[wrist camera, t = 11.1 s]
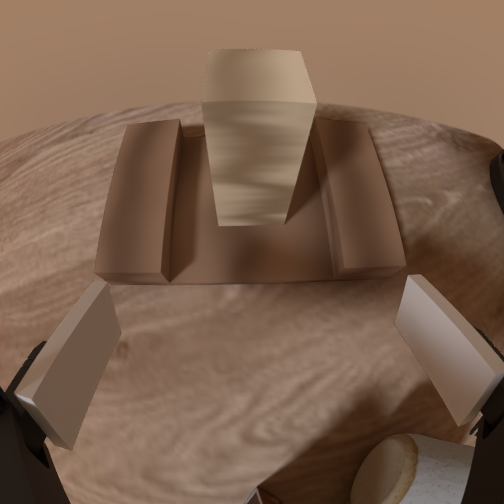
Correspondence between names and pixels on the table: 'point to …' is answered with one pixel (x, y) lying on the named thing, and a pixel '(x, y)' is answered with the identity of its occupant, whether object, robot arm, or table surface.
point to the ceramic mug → (413, 472)
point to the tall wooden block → (255, 131)
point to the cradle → (246, 237)
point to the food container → (262, 497)
